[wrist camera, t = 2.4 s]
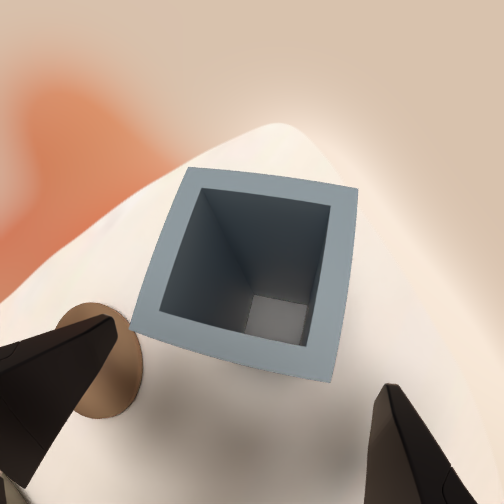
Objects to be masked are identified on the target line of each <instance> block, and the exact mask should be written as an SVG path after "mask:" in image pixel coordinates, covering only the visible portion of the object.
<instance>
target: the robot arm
mask: <svg viewBox="0 0 504 504" xmlns="http://www.w3.org/2000/svg"><path fill="white" fill-rule="evenodd" d="M117 339H118V332H117V328H116V324H115V320H114V318H113V317H112V316H109V315H107V314H100V315H97V316H94V317H91V318H88V319H85V320H82V321H79V322H76V323H73V324H70V325H67V326H64V327H61V328H58V329H55V330H52V331H49V332H46V333H43V334H40V335H37V336H34V337H31V338H28V339H25V340H22V341H18V342H15V343H12V344H9V345H6V346H2V347H0V504H7V501H6V494H5V486H4V479H3V477H2V476H1V474H2V473H4V474H5V475H7V476H8V477H9V478H10V479H12V480H13V481H14V482H16V483H17V484H18V485H20V486H21V487H22V488H24V489H25V488H26V487H27V486H28V484H29V482H30V480H31V478H32V477H33V475H34V473H35V472H36V470H37V468H38V466H39V465H40V463H41V461H42V460H43V458H44V456H45V455H46V453H47V451H48V450H49V448H50V446H51V445H52V443H53V442H54V440H55V438H56V437H57V435H58V434H59V432H60V430H61V429H62V427H63V426H64V424H65V423H66V421H67V420H68V418H69V416H70V415H71V413H72V412H73V410H74V409H75V407H76V406H77V404H78V403H79V401H80V400H81V398H82V397H83V395H84V394H85V392H86V391H87V390H88V388H89V387H90V385H91V384H92V382H93V381H94V379H95V378H96V376H97V375H98V373H99V372H100V370H101V368H102V367H103V365H104V363H105V361H106V359H107V358H108V356H109V354H110V352H111V350H112V349H113V347H114V345H115V343H116V342H117ZM364 504H478V503H477V502H476V501H475V500H474V498H473V497H472V496H471V494H470V493H469V491H468V490H467V489H466V487H465V486H464V484H463V483H462V481H461V480H460V478H459V477H458V475H457V473H456V472H455V470H454V468H453V467H451V464H450V462H449V461H448V459H447V457H446V456H445V454H444V453H443V451H442V449H441V448H440V446H439V445H438V443H437V442H436V440H435V439H434V437H433V435H432V434H431V432H430V431H429V429H428V428H427V426H426V425H425V423H424V422H423V420H422V419H421V417H420V416H419V414H418V413H417V411H416V410H415V408H414V407H413V405H412V404H411V402H410V401H409V399H408V398H407V396H406V395H405V394H404V392H403V391H402V389H401V388H400V386H399V385H397V384H390V383H386V384H385V385H384V386H383V388H382V389H381V391H380V393H379V394H378V396H377V398H376V400H375V402H374V407H373V415H372V423H371V430H370V437H369V444H368V454H367V473H366V486H365V497H364Z"/></svg>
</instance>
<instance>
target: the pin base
mask: <svg viewBox="0 0 504 504" xmlns="http://www.w3.org/2000/svg"><path fill="white" fill-rule="evenodd" d="M100 314H107V315H109V316H112V317H113V318H114V320H115V324H116V328H117V332H118V339H117V342H116V343H115V345H114V347H113V349H112V350H111V352H110V354H109V356H108V358H107V359H106V361H105V363H104V365H103V367H102V368H101V370H100V372H99V373H98V375H97V376H96V378H95V379H94V381H93V382H92V384H91V385H90V387H89V388H88V390H87V391H86V392H85V394H84V395H83V397H82V398H81V400H80V401H79V403H78V404H77V406H76V407H75V409H74V411H75V412H77V413H79V414H80V415H83V416H85V417H88V418H92V419H102V418H109V417H113V416H116V415H118V414H120V413H121V412H123V411H124V410H125V409H127V407H128V406H129V405H130V404H131V403H132V401H133V400H134V399H135V397H136V395H137V393H138V390H139V387H140V383H141V379H142V370H143V364H142V353H141V349H140V345H139V342H138V339H137V336H136V334H135V332H134V331H131V330H129V326H130V324H129V323H128V321H127V320H126V319H125V318H124V317H123V316H122V315H121V314H120V313H118V312H117V311H116V310H114V309H112V308H110V307H107V306H105V305H102V304H99V303H83V304H80V305H77V306H75V307H74V308H72V309H71V310H69V311H68V312H67V313H66V314H65V315H64V316H63V317H62V319H61V320H60V321H59V323H58V325H57V326H56V329H58V328H61V327H64V326H67V325H70V324H73V323H76V322H79V321H82V320H85V319H88V318H91V317H94V316H97V315H100Z"/></svg>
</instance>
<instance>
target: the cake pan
mask: <svg viewBox="0 0 504 504" xmlns="http://www.w3.org/2000/svg"><path fill="white" fill-rule="evenodd" d="M1 476H2V477H3V479H4V486H5V494H6V501H7V504H27V502H26V501H25V500H24V498H23V497H22V496H21V494H20V493H19V491H18V490H17V489H16V487H15V486H14V485H13V484H12V482H11V481H10V480H9V478H8V477H7V476H6V475H5V474H4V473H2V474H1Z"/></svg>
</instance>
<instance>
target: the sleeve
mask: <svg viewBox="0 0 504 504" xmlns="http://www.w3.org/2000/svg"><path fill="white" fill-rule="evenodd" d="M357 201H358V189H357V188H352V187H346V186H341V185H335V184H329V183H323V182H317V181H310V180H304V179H297V178H290V177H282V176H275V175H267V174H259V173H250V172H241V171H231V170H220V169H209V168H196V167H188V169H187V171H186V173H185V175H184V178H183V180H182V182H181V184H180V187H179V189H178V191H177V194H176V196H175V199H174V201H173V203H172V206H171V208H170V211H169V213H168V216H167V218H166V221H165V223H164V226H163V228H162V231H161V234H160V236H159V239H158V242H157V244H156V247H155V250H154V252H153V255H152V258H151V261H150V264H149V266H148V269H147V272H146V275H145V278H144V281H143V284H142V287H141V290H140V293H139V296H138V299H137V303H136V306H135V309H134V312H133V315H132V319H131V322H130V326H129V330H131V331H134V332H137V333H139V334H142V335H145V336H148V337H150V338H153V339H156V340H159V341H162V342H165V343H168V344H171V345H174V346H177V347H180V348H184V349H187V350H190V351H193V352H197V353H200V354H203V355H207V356H210V357H214V358H217V359H221V360H225V361H229V362H232V363H236V364H240V365H244V366H248V367H252V368H257V369H261V370H265V371H270V372H274V373H279V374H284V375H289V376H294V377H299V378H304V379H310V380H315V381H321V382H327V383H330V382H331V378H332V374H333V369H334V364H335V360H336V355H337V350H338V345H339V340H340V335H341V329H342V324H343V318H344V312H345V306H346V300H347V293H348V286H349V279H350V272H351V264H352V256H353V247H354V237H355V227H356V215H357ZM254 295H259V296H264V297H269V298H274V299H279V300H284V301H289V302H294V303H300V304H305V305H308V307H307V312H306V317H305V321H304V326H303V331H302V335H301V340H300V344H299V345H294V344H289V343H284V342H279V341H274V340H269V339H265V338H260V337H256V336H251V335H247V334H244V331H245V327H246V323H247V319H248V316H249V312H250V308H251V304H252V300H253V296H254Z"/></svg>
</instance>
